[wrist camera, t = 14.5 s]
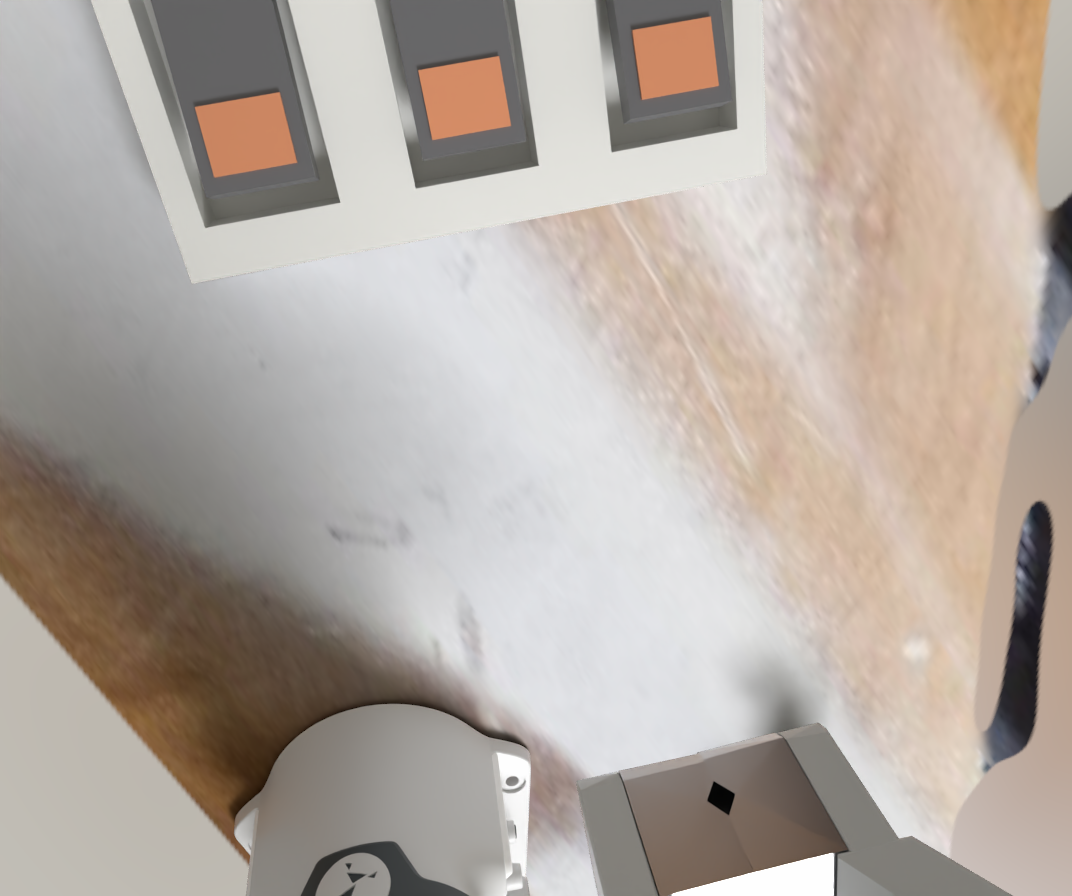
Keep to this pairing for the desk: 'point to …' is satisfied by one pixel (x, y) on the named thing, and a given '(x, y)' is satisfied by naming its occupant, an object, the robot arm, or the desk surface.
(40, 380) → the desk surface
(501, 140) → the middle rocker
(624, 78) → the rocker
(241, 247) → the switch strip
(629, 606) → the desk surface
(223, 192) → the rocker
